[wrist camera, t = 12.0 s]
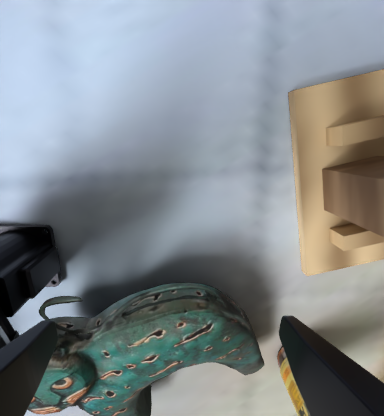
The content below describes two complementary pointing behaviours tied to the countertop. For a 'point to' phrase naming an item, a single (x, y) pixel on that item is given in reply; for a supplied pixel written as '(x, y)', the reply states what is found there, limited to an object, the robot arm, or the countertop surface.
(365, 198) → the walnut board piece
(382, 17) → the countertop surface
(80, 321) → the teal curved piece
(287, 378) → the sauce bottle
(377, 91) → the oak base board
